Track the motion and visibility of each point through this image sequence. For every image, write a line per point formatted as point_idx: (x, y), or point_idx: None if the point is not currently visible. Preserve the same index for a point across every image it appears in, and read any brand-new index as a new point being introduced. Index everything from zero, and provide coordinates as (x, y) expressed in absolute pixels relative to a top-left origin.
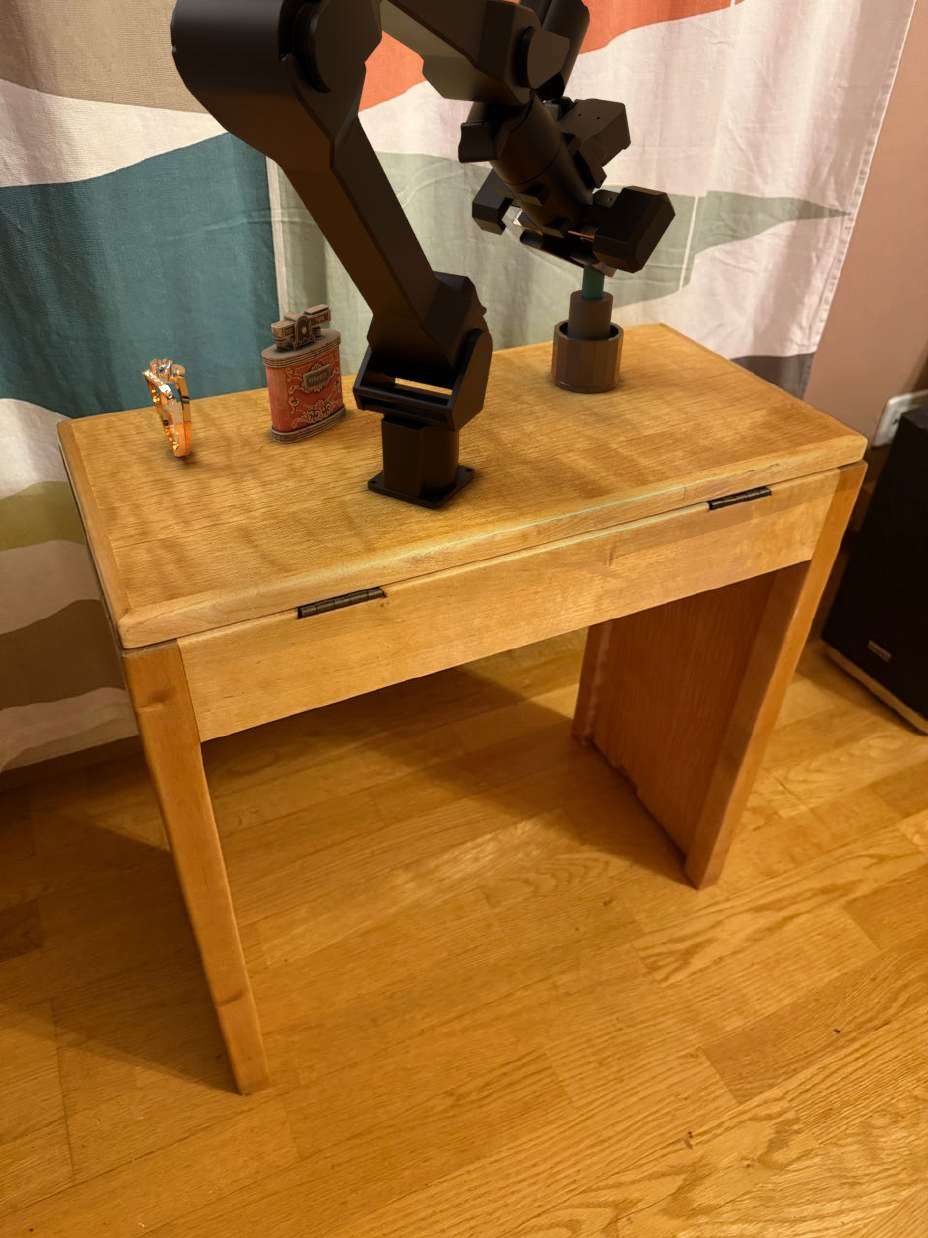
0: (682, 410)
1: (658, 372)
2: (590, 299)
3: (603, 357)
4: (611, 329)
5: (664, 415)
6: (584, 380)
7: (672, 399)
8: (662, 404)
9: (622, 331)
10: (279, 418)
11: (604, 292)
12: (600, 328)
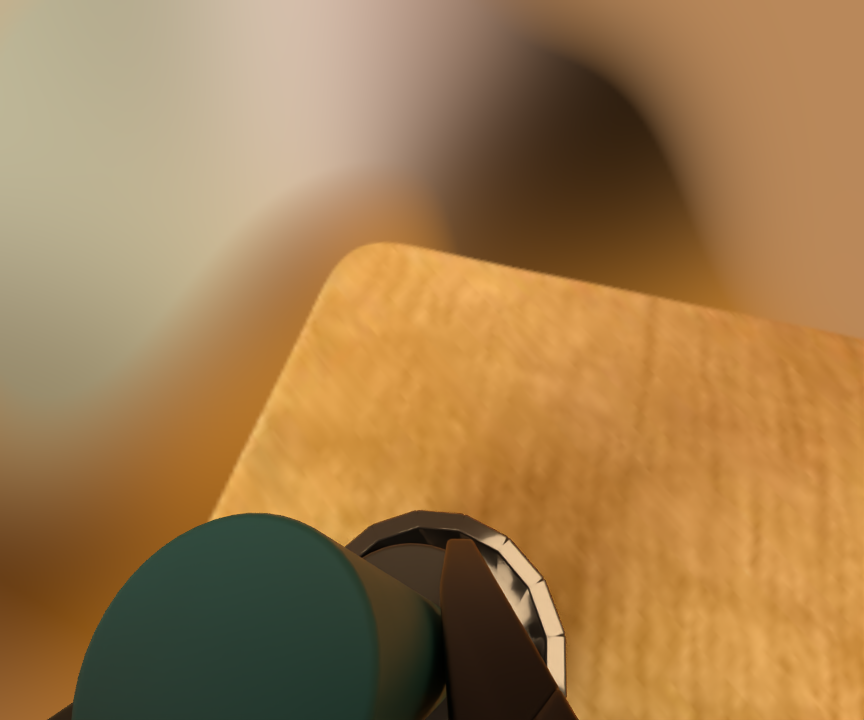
0: (783, 605)
1: (544, 439)
2: (441, 717)
3: None
4: (452, 534)
5: (788, 684)
6: None
7: (704, 560)
8: (717, 614)
9: (524, 561)
10: None
11: (419, 563)
12: None
